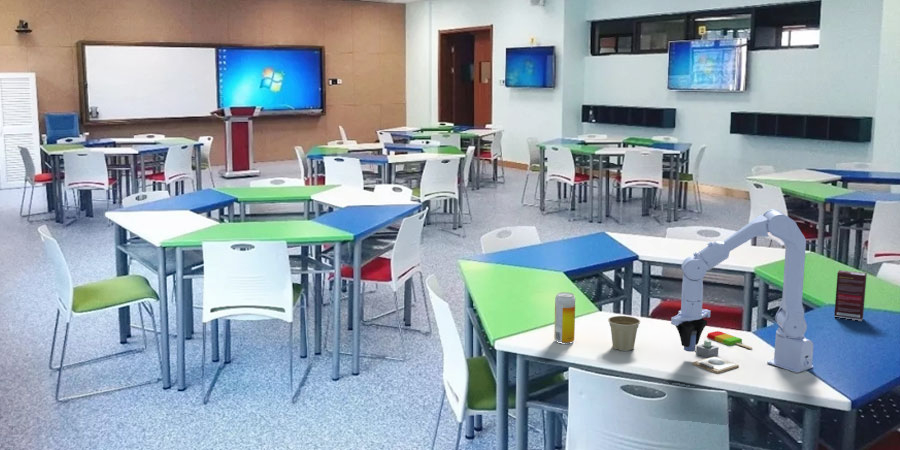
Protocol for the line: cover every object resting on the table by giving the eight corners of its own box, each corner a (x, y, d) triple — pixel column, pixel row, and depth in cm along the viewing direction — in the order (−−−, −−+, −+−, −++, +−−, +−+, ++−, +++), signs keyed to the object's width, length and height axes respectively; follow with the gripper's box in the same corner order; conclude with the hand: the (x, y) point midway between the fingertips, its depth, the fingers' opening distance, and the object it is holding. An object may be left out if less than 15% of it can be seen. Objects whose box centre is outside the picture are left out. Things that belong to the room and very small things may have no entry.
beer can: (578, 341, 237) (579, 294, 234) (566, 346, 233) (568, 298, 230) (561, 337, 241) (562, 290, 238) (550, 341, 237) (551, 294, 234)
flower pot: (600, 345, 234) (601, 317, 232) (626, 341, 237) (627, 314, 236) (619, 354, 225) (620, 326, 224) (645, 350, 229) (646, 322, 227)
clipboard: (738, 367, 215) (738, 363, 215) (717, 373, 210) (718, 369, 210) (713, 358, 222) (713, 354, 222) (692, 364, 217) (692, 360, 217)
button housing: (718, 355, 225) (718, 347, 224) (708, 357, 222) (708, 350, 222) (705, 350, 228) (706, 343, 228) (695, 353, 226) (696, 345, 226)
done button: (712, 348, 225) (712, 341, 224) (707, 349, 224) (708, 342, 223) (706, 346, 226) (707, 339, 226) (702, 347, 225) (702, 340, 225)
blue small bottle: (698, 350, 220) (699, 330, 219) (690, 352, 219) (691, 332, 218) (688, 347, 223) (689, 327, 222) (680, 349, 221) (681, 329, 220)
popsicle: (717, 335, 244) (717, 330, 243) (757, 349, 231) (758, 343, 231) (705, 338, 241) (705, 333, 240) (745, 353, 228) (745, 347, 228)
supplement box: (863, 318, 260) (867, 272, 257) (861, 322, 256) (866, 275, 253) (834, 314, 264) (838, 269, 261) (833, 317, 260) (837, 272, 257)
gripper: (697, 292, 225) (695, 336, 228) (663, 300, 218) (661, 345, 220) (717, 297, 220) (715, 342, 222) (683, 305, 212) (681, 352, 214)
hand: (689, 344), depth 221 cm, fingers closed on blue small bottle, 3 cm apart
